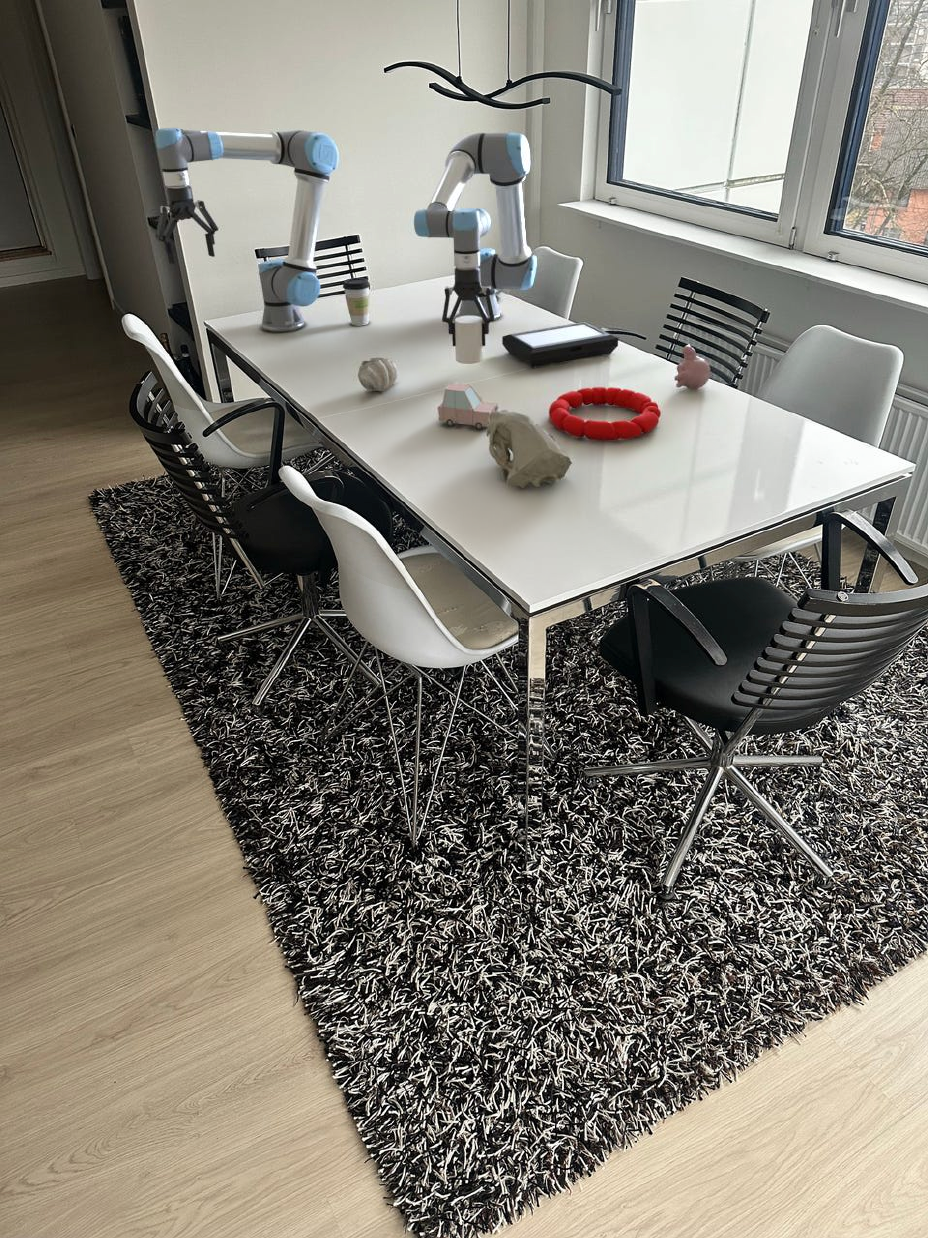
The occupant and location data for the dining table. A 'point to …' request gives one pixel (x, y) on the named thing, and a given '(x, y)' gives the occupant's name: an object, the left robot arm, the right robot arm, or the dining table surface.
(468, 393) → the toy car
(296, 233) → the left robot arm
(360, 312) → the coffee cup
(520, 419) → the animal skull
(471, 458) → the dining table surface
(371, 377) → the seashell
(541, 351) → the electronic device
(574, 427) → the decorative ring
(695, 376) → the figurine
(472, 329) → the canister
